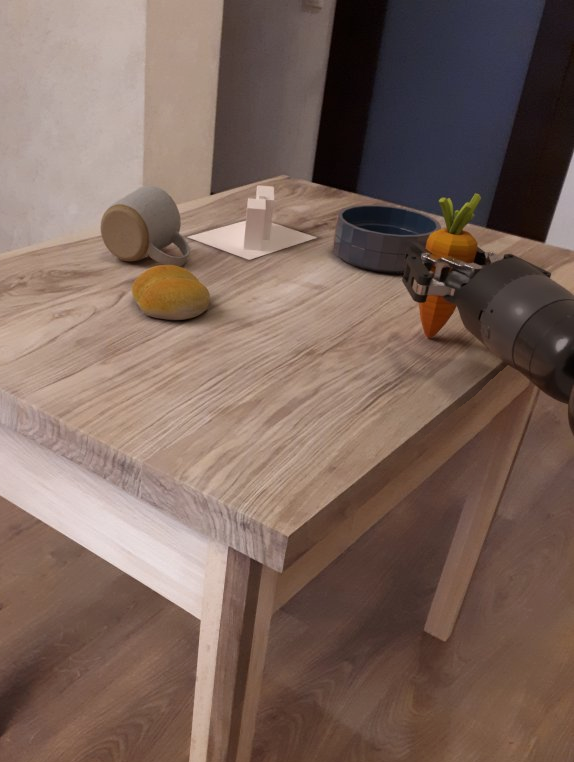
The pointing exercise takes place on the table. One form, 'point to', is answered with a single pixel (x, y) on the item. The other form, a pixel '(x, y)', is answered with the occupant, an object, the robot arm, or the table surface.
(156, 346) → the table surface
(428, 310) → the carrot
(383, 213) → the bowl
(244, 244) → the napkin holder
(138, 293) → the bread roll
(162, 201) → the ceramic mug
